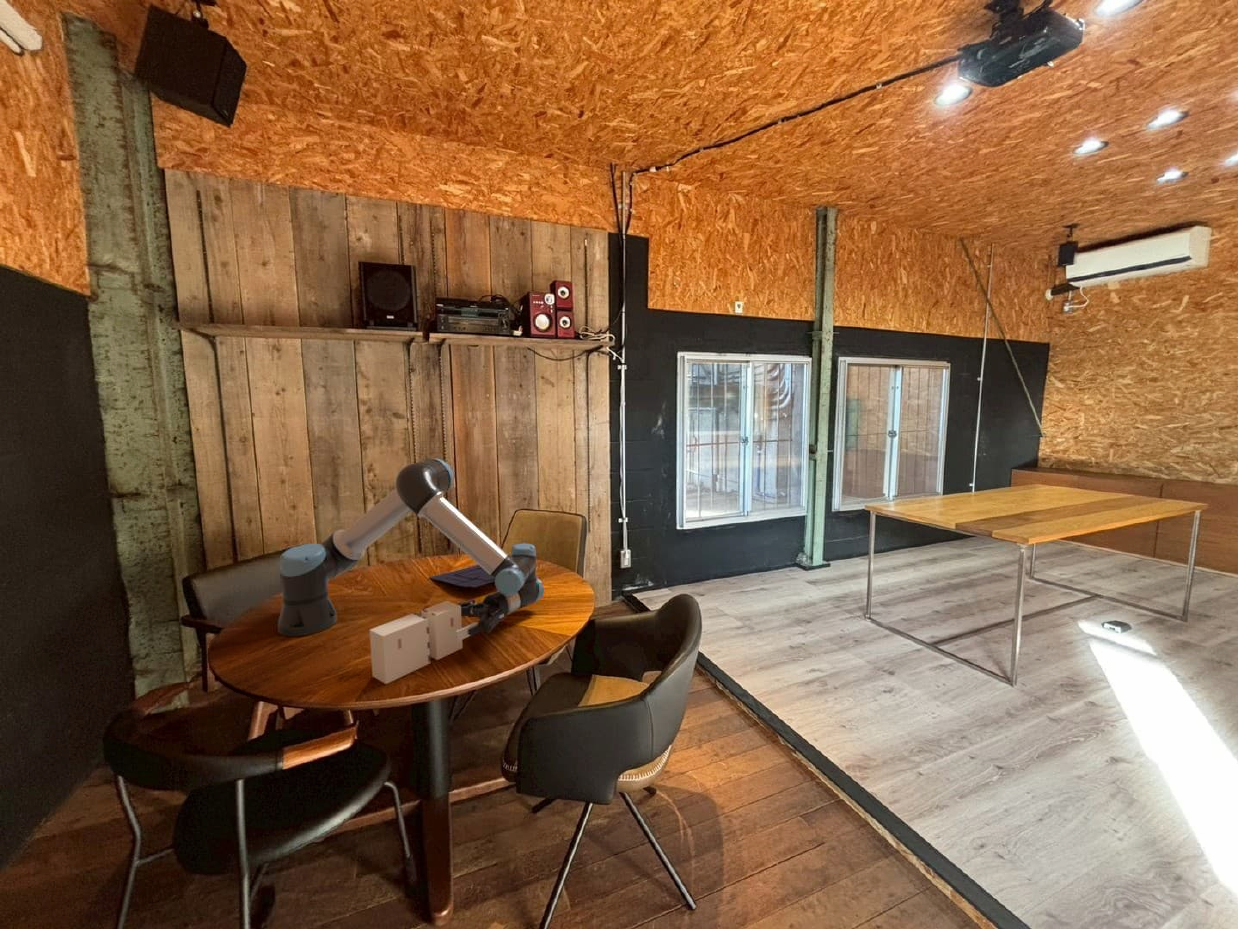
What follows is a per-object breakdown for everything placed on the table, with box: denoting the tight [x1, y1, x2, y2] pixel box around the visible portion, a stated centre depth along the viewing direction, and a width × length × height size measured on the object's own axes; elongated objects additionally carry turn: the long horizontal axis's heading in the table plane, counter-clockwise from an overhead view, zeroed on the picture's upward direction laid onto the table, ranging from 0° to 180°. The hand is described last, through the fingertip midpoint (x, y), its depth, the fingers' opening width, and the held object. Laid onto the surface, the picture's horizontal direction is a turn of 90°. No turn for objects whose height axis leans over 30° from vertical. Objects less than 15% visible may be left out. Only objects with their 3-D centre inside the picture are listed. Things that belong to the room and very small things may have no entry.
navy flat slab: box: [429, 564, 495, 588], centre depth 192 cm, size 24×30×4 cm
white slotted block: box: [369, 612, 431, 685], centre depth 128 cm, size 6×12×12 cm, turn 144°
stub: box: [420, 600, 464, 661], centre depth 138 cm, size 6×8×12 cm
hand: (440, 629), depth 137 cm, fingers open, 13 cm apart
